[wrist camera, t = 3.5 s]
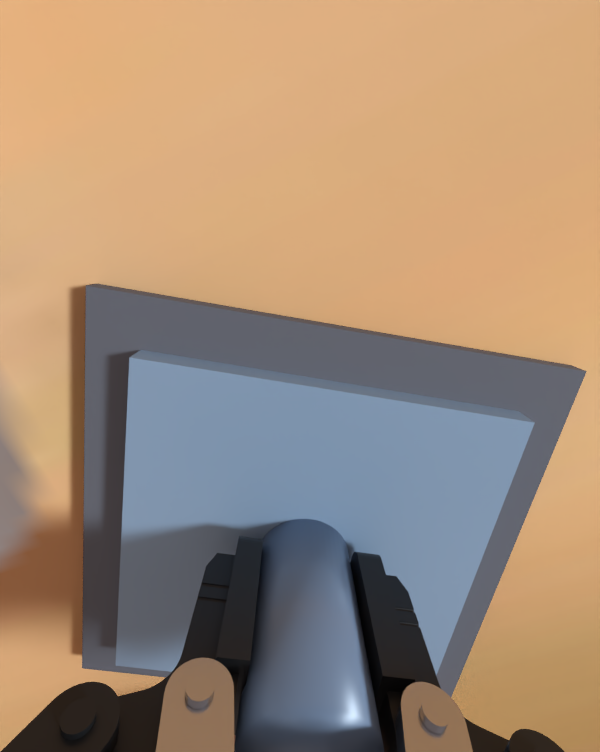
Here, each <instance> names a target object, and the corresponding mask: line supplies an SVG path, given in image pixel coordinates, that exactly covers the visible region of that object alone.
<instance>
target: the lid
mask: <svg viewBox="0 0 600 752" xmlns="http://www.w3.org/2000/svg"><path fill="white" fill-rule="evenodd" d="M534 424H535V422H533V421H532V420H530V419H529V418H527V417H526V416H525V415H523V414H522V413H520V412H519V411H514V410H507V409H501V408H495V407H489V406H483V405H477V404H471V403H464V402H458V401H452V400H446V399H440V398H434V397H428V396H421V395H415V394H409V393H403V392H397V391H391V390H385V389H378V388H372V387H366V386H360V385H354V384H348V383H342V382H335V381H329V380H323V379H317V378H311V377H305V376H299V375H292V374H286V373H280V372H274V371H268V370H262V369H256V368H249V367H243V366H237V365H231V364H225V363H219V362H213V361H206V360H200V359H194V358H188V357H182V356H176V355H170V354H163V353H157V352H151V351H145V350H140V351H138V352H137V353H135V354H134V355H132V356H131V357H129V376H128V399H127V421H126V443H125V466H124V488H123V510H122V532H121V555H120V577H119V599H118V621H117V644H116V666H124V667H133V668H142V669H151V670H160V671H169V672H172V671H173V670H174V668H175V667H176V666H177V664H178V662H179V660H180V657H181V655H182V651H183V648H184V644H185V641H186V637H187V633H188V630H189V626H190V623H191V619H192V615H193V612H194V608H195V605H196V601H197V598H198V594H199V590H200V587H201V583H202V579H203V576H204V572H205V568H206V566H207V564H208V563H209V562H210V561H211V560H212V559H213V557H214V556H215V555H216V554H217V553H223V554H231V555H235V554H236V549H237V543H238V538H239V536H243V537H250V538H258V539H263V546H262V556H261V565H260V575H259V584H258V594H257V603H256V613H255V622H254V632H253V641H252V651H251V660H250V666H249V671H248V676H247V682H246V686H245V687H244V689H243V691H242V694H241V697H240V703H239V711H238V720H237V728H236V736H235V744H234V752H384V746H383V741H382V735H381V730H380V724H379V719H378V713H377V708H376V702H375V697H374V691H373V685H372V680H371V674H370V669H369V663H368V658H367V652H366V647H365V641H364V636H363V630H362V625H361V619H360V614H359V608H358V603H357V597H356V592H355V586H354V581H353V575H352V569H351V564H350V562H351V558H352V555H353V553H354V552H362V553H369V554H377V555H380V557H381V559H382V563H383V566H384V570H385V573H386V575H391V576H397V578H398V579H399V580H400V582H401V583H402V584H403V586H404V587H405V588H406V590H407V591H408V593H409V596H410V599H411V602H412V605H413V608H414V613H415V614H416V617H417V620H418V623H419V627H420V629H421V632H422V635H423V638H424V641H425V644H426V647H427V650H428V652H429V655H430V658H431V661H432V664H433V667H434V670H435V673H436V675H437V673H438V670H439V668H440V665H441V662H442V660H443V657H444V655H445V652H446V650H447V647H448V644H449V642H450V639H451V637H452V634H453V632H454V629H455V626H456V624H457V621H458V619H459V616H460V614H461V611H462V608H463V606H464V603H465V601H466V598H467V596H468V593H469V590H470V588H471V585H472V583H473V580H474V578H475V575H476V572H477V570H478V567H479V565H480V562H481V560H482V557H483V555H484V552H485V549H486V547H487V544H488V542H489V539H490V537H491V534H492V531H493V529H494V526H495V524H496V521H497V519H498V516H499V513H500V511H501V508H502V506H503V503H504V501H505V498H506V495H507V493H508V490H509V488H510V485H511V483H512V480H513V477H514V475H515V472H516V470H517V467H518V465H519V462H520V459H521V457H522V454H523V452H524V449H525V447H526V444H527V441H528V439H529V436H530V434H531V431H532V429H533V426H534Z"/></svg>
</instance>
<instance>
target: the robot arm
mask: <svg viewBox="0 0 600 752" xmlns="http://www.w3.org/2000/svg"><path fill="white" fill-rule="evenodd" d="M262 546H263V539H258V538H250V537H243V536H239V538H238V543H237V549H236V554H235V555H231V554H223V553H217V554H216V555H215V556H214V557H213V559H212V560H211V561H210V562H209V563H208V564H207V566H206V568H205V572H204V576H203V579H202V583H201V587H200V590H199V594H198V598H197V601H196V605H195V608H194V612H193V615H192V619H191V623H190V626H189V630H188V633H187V637H186V641H185V644H184V648H183V651H182V655H181V657H180V660H179V662H178V664H177V666H176V667H175V668H174V670H173V671H172V672H171V673H170V674H169V676H168V677H166V678H165V679H164V680H163V681H161V682H160V683H158V684H157V685H155V686H153V687H151V688H148V689H145V690H142V691H138V692H134V693H130V694H126V695H122V696H118V697H117V695H116V693H115V691H114V690H113V689H112V688H111V687H109V686H107V685H106V684H103V683H99V682H86V683H82V684H78V685H76V686H73V687H71V688H69V689H67V690H66V691H64V692H63V693H61V694H60V695H59V696H57V697H56V698H55V699H54V700H53V701H52V702H51V703H50V704H49V705H48V706H47V707H46V708H45V709H44V710H43V711H42V712H41V713H40V714H39V715H38V716H37V717H36V718H35V719H33V720H32V721H31V722H30V723H29V724H28V725H27V726H26V727H25V728H24V729H23V730H22V731H21V732H20V733H19V734H18V735H17V736H16V737H15V738H14V739H13V740H12V741H11V742H10V743H9V744H8V745H7V746H6V747H5V748H4V749H3V750H2V751H1V752H234V735H236V728H237V720H238V711H239V703H240V697H241V694H242V691H243V689H244V687H245V686H246V682H247V676H248V671H249V666H250V660H251V651H252V641H253V632H254V622H255V613H256V603H257V594H258V584H259V575H260V565H261V556H262ZM350 564H351V569H352V575H353V581H354V586H355V592H356V597H357V603H358V608H359V614H360V619H361V625H362V630H363V636H364V641H365V647H366V652H367V658H368V663H369V669H370V674H371V680H372V685H373V691H374V697H375V702H376V708H377V713H378V719H379V724H380V730H381V735H382V741H383V746H384V752H564V751H563V750H562V749H561V748H560V747H559V746H558V745H557V744H556V743H555V742H553V741H552V740H551V739H549V738H548V737H546V736H544V735H543V734H541V733H539V732H536V731H533V730H530V729H520V730H518V731H516V732H515V733H513V735H512V736H511V738H510V740H507V739H505V738H502V737H500V736H498V735H496V734H494V733H492V732H490V731H487V730H485V729H483V728H481V727H479V726H477V725H475V724H473V723H471V722H470V721H468V720H467V719H466V718H464V716H463V714H462V712H461V710H460V709H459V707H458V705H457V704H456V703H455V701H454V700H453V699H452V698H451V697H450V696H449V695H448V694H447V693H446V692H444V691H443V690H442V689H441V687H440V685H439V682H438V679H437V676H436V673H435V670H434V667H433V664H432V661H431V658H430V655H429V652H428V650H427V647H426V644H425V641H424V638H423V635H422V632H421V629H420V627H419V623H418V620H417V617H416V614H415V613H414V608H413V605H412V602H411V599H410V596H409V593H408V591H407V590H406V588H405V587H404V586H403V584H402V583H401V582H400V580H399V579H398V578H397V576H391V575H386V573H385V570H384V566H383V563H382V559H381V557H380V555H377V554H369V553H362V552H354V553H353V555H352V558H351V562H350Z"/></svg>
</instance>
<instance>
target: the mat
mask: <svg viewBox="0 0 600 752" xmlns="http://www.w3.org/2000/svg"><path fill="white" fill-rule="evenodd" d="M140 350H145V351H151V352H157V353H163V354H170V355H176V356H182V357H188V358H194V359H200V360H206V361H213V362H219V363H225V364H231V365H237V366H243V367H249V368H256V369H262V370H268V371H274V372H280V373H286V374H292V375H299V376H305V377H311V378H317V379H323V380H329V381H335V382H342V383H348V384H354V385H360V386H366V387H372V388H378V389H385V390H391V391H397V392H403V393H409V394H415V395H421V396H428V397H434V398H440V399H446V400H452V401H458V402H464V403H471V404H477V405H483V406H489V407H495V408H501V409H507V410H514V411H519V412H520V413H522V414H523V415H525V416H526V417H527V418H529V419H530V420H532V421H533V422H535V424H534V426H533V429H532V431H531V434H530V436H529V439H528V441H527V444H526V447H525V449H524V452H523V454H522V457H521V459H520V462H519V465H518V467H517V470H516V472H515V475H514V477H513V480H512V483H511V485H510V488H509V490H508V493H507V495H506V498H505V501H504V503H503V506H502V508H501V511H500V513H499V516H498V519H497V521H496V524H495V526H494V529H493V531H492V534H491V537H490V539H489V542H488V544H487V547H486V549H485V552H484V555H483V557H482V560H481V562H480V565H479V567H478V570H477V572H476V575H475V578H474V580H473V583H472V585H471V588H470V590H469V593H468V596H467V598H466V601H465V603H464V606H463V608H462V611H461V614H460V616H459V619H458V621H457V624H456V626H455V629H454V632H453V634H452V637H451V639H450V642H449V644H448V647H447V650H446V652H445V655H444V657H443V660H442V662H441V665H440V668H439V670H438V673H437V675H436V676H437V679H438V682H439V685H440V687H441V689H442V690H443V691H444V692H446V693H447V694H448V695H449V696H450V697H451V696H452V694H453V691H454V689H455V687H456V684H457V682H458V679H459V677H460V675H461V672H462V670H463V667H464V665H465V662H466V660H467V658H468V655H469V653H470V650H471V648H472V646H473V643H474V641H475V638H476V636H477V634H478V631H479V629H480V626H481V624H482V622H483V619H484V617H485V614H486V612H487V609H488V607H489V605H490V602H491V600H492V597H493V595H494V593H495V590H496V588H497V585H498V583H499V581H500V578H501V576H502V573H503V571H504V569H505V566H506V564H507V561H508V559H509V556H510V554H511V552H512V549H513V547H514V544H515V542H516V540H517V537H518V535H519V532H520V530H521V528H522V525H523V523H524V520H525V518H526V516H527V513H528V511H529V508H530V506H531V503H532V501H533V499H534V496H535V494H536V491H537V489H538V487H539V484H540V482H541V479H542V477H543V475H544V472H545V470H546V467H547V465H548V463H549V460H550V458H551V455H552V453H553V450H554V448H555V446H556V443H557V441H558V438H559V436H560V434H561V431H562V429H563V426H564V424H565V422H566V419H567V417H568V414H569V412H570V410H571V407H572V405H573V402H574V400H575V397H576V395H577V393H578V390H579V388H580V385H581V383H582V381H583V378H584V376H585V373H586V371H584V370H581V369H579V368H577V367H574V366H571V365H565V364H560V363H554V362H548V361H542V360H536V359H531V358H525V357H519V356H513V355H507V354H502V353H496V352H490V351H484V350H478V349H473V348H467V347H461V346H455V345H449V344H444V343H438V342H432V341H426V340H420V339H415V338H409V337H403V336H397V335H391V334H386V333H380V332H374V331H368V330H362V329H357V328H351V327H345V326H339V325H333V324H328V323H322V322H316V321H310V320H304V319H299V318H293V317H287V316H281V315H275V314H270V313H264V312H258V311H252V310H246V309H241V308H235V307H229V306H223V305H217V304H212V303H206V302H200V301H194V300H188V299H183V298H177V297H171V296H165V295H159V294H154V293H148V292H142V291H136V290H130V289H125V288H119V287H113V286H107V285H101V284H92V285H86V319H85V430H84V541H83V651H82V668H85V669H94V670H103V671H113V672H122V673H131V674H140V675H150V676H159V677H168V676H169V674H170V673H171V672H169V671H160V670H151V669H142V668H133V667H124V666H116V644H117V621H118V599H119V577H120V555H121V532H122V510H123V488H124V466H125V443H126V421H127V399H128V376H129V357H131V356H132V355H134V354H135V353H137V352H138V351H140Z"/></svg>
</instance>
